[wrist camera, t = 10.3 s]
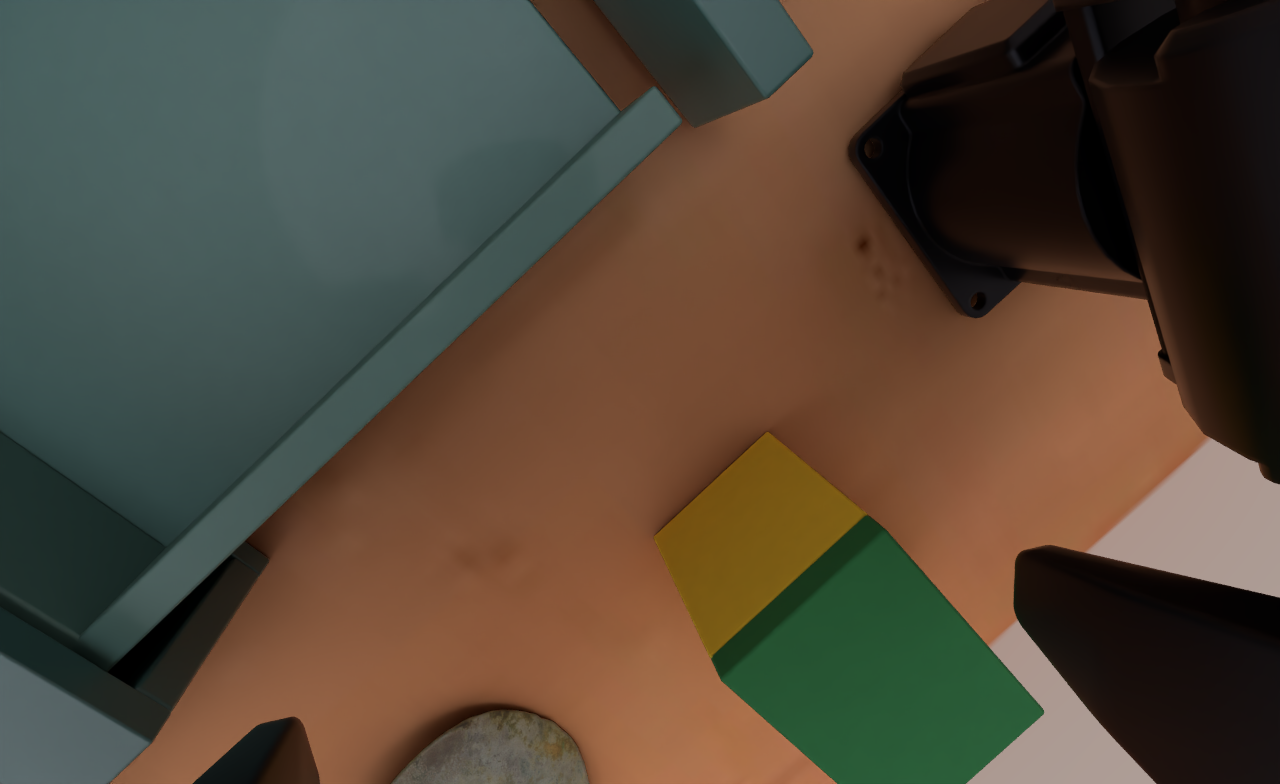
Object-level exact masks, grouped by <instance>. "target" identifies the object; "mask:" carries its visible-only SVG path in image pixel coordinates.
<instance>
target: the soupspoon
mask: <svg viewBox="0 0 1280 784" xmlns="http://www.w3.org/2000/svg"><path fill="white" fill-rule="evenodd" d="M391 784H589V780H588V775H587V772H586V768H585V764H584V761H583V759H582V757H581V754H580V752H579V750H578V747H577V745H576V744H575V742H574V741H573V740H572V738H571V737H570V736H569V735H568V734H567V733H566V732H565V731H563V730H562V729H560V728H559V727H558V726H557V724H556V723H554V722H552V721H551V720H547V719H541V718H540V717H539V716H538V715H536V714H534V713H532V714H531V713H527V712H525V711H522V712H521V711H518V710H506V709H503V710H494V711H489V712H485V713H483V714H481V715H477V716H472V717H471V718H468V719H466V720H463V721H462V722H461V723H459V724H457V725H456V726H454V727H453V728H452V729H449V730H448V731H446V732H444V733H443V735H441V736H439V737H437V738H436V739H435V740H434V741H433V742H431V743H430V744H429V745H428V746H427V747H426V748H424V749H423V750H422V751H421V752H420V753H419V754H418V755H417V756H416V757H415V758H414V759H413V760H412V761H411V762H410V763H409V764H408V765H407V766H406V767H405V768H404V769H403V770H402V771H401V772H400V773H399V774H398V775H397V776H396V778H395V779H394V780H393V781H392V782H391Z"/></svg>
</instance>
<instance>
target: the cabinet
mask: <svg viewBox="0 0 1280 784" xmlns="http://www.w3.org/2000/svg"><path fill="white" fill-rule="evenodd" d="M268 563H269V559H268V558H267V557H266V556H264V555H263V554H261V553H260V552H259V551H257V550H256V549H255V548H253V547H252V546H251V545H249V544H248V543H246V542H245V541H244V542H243V543H242V544H241V545H240V546H239V547H238V548H237V549H236V550H235V551H234V552H233V553H232V554H231V555H230V556H228V557H227V558H226V559H225V560H224V561H223V562H222V563H221V564H220V565H219V566H218V567H217V568H216V569H215V570H214V571H213V572H212V573H211V574H210V575H209V576H208V577H206V578H205V579H204V580H203V581H202V582H201V583H200V584H199V585H198V586H197V587H196V588H195V589H194V590H193V591H192V592H191V593H190V594H189V595H188V596H187V597H186V598H184V599H183V600H182V601H181V602H180V603H179V604H178V605H177V606H176V607H175V608H174V609H173V610H172V611H171V612H170V613H169V614H168V615H167V616H166V617H165V618H164V619H162V620H161V621H160V622H159V623H158V624H157V625H156V626H155V627H154V628H153V629H152V630H151V631H150V632H149V633H148V634H147V635H146V636H145V637H144V638H143V639H142V640H140V641H139V642H138V643H137V644H136V645H135V646H134V647H133V648H132V649H131V650H130V651H129V652H128V653H127V654H126V655H125V656H124V657H123V658H122V659H121V660H120V661H118V662H117V663H116V664H115V665H114V666H113V667H112V668H111V669H110V670H109V671H108V672H106V671H104V670H103V669H101V668H100V667H98V666H96V665H95V664H93V663H91V662H90V661H88V660H86V659H85V658H83V657H82V656H80V655H78V654H77V653H75V652H73V651H72V650H70V649H69V648H67V647H65V646H64V645H62V644H60V643H59V642H57V641H55V640H54V639H52V638H51V637H49V636H47V635H46V634H44V633H42V632H41V631H39V630H38V629H36V628H34V627H33V626H31V625H29V624H28V623H26V622H25V621H23V620H21V619H20V618H18V617H16V616H15V615H13V614H11V613H10V612H8V611H7V610H5V609H3V608H2V607H0V784H109V783H110V782H111V781H112V780H113V779H114V778H115V777H117V776H118V775H119V774H120V773H121V772H122V771H123V770H124V769H125V768H126V767H127V766H128V765H129V764H130V763H131V762H132V761H133V760H135V759H136V758H137V757H138V756H139V755H140V754H141V753H142V752H143V751H144V750H145V749H146V748H147V747H148V746H149V745H150V744H151V743H152V742H153V741H154V739H155V738H156V736H157V735H158V733H159V731H160V730H161V728H162V727H163V725H164V724H165V722H166V721H167V719H168V718H169V716H170V714H171V712H172V710H173V709H174V707H175V706H176V704H177V703H178V701H179V700H180V698H181V697H182V695H183V693H184V692H185V690H186V689H187V687H188V686H189V684H190V683H191V681H192V680H193V678H194V676H195V675H196V673H197V672H198V670H199V669H200V667H201V666H202V664H203V663H204V661H205V660H206V658H207V656H208V655H209V653H210V652H211V650H212V649H213V647H214V646H215V644H216V643H217V641H218V639H219V638H220V636H221V635H222V633H223V632H224V630H225V629H226V627H227V626H228V624H229V623H230V621H231V619H232V618H233V616H234V615H235V613H236V612H237V610H238V609H239V607H240V606H241V604H242V602H243V601H244V599H245V598H246V596H247V595H248V593H249V592H250V590H251V589H252V587H253V586H254V584H255V582H256V581H257V579H258V577H259V576H260V575H261V574H262V572H263V571H264V569H265V567H266V566H267V564H268Z"/></svg>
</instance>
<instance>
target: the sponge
mask: <svg viewBox="0 0 1280 784" xmlns="http://www.w3.org/2000/svg"><path fill="white" fill-rule="evenodd" d="M654 540H655V542H656V544H657V547H658V549H659V551H660V553H661V555H662V557H663V559H664V561H665V564H666V566H667V568H668V570H669V572H670V574H671V576H672V578H673V580H674V583H675V585H676V587H677V589H678V591H679V593H680V595H681V597H682V600H683V602H684V604H685V606H686V608H687V610H688V612H689V614H690V617H691V619H692V621H693V623H694V625H695V627H696V629H697V631H698V634H699V636H700V638H701V640H702V642H703V644H704V646H705V648H706V651H707V653H708V655H709V657H710V658H711V660H712V662H713V664H714V666H715V668H716V671H717V673H718V675H719V677H720V679H721V681H722V682H723V683H724V684H726V685H727V686H728V687H729V688H730V689H731V690H732V691H734V692H735V693H736V694H737V695H738V696H739V697H740V698H741V699H743V700H744V701H745V702H746V703H747V704H748V705H749V706H750V707H752V708H753V709H754V710H755V711H756V712H757V713H758V714H759V715H761V716H762V717H763V718H764V719H765V720H766V721H767V722H768V723H770V724H771V725H772V726H773V727H774V728H775V729H776V730H777V731H779V732H780V733H781V734H782V735H783V736H784V737H785V738H786V739H788V740H789V741H790V742H791V743H792V744H793V745H794V746H795V747H797V748H798V749H799V750H800V751H801V752H802V753H803V754H805V755H806V756H807V757H808V758H809V759H810V760H811V761H812V762H814V763H815V764H816V765H817V766H818V767H819V768H820V769H821V770H823V771H824V772H825V773H826V774H827V775H828V776H829V777H830V778H832V779H833V780H834V781H835V782H836V783H837V784H966V783H967V782H968V781H969V780H970V779H972V778H973V777H974V776H975V775H976V774H977V773H978V772H979V771H981V770H982V769H983V768H984V767H985V766H986V765H987V764H988V763H990V761H992V760H993V759H994V758H995V757H996V756H997V755H998V754H1000V753H1001V752H1002V751H1003V750H1004V749H1005V748H1006V747H1007V746H1009V745H1010V744H1011V743H1012V742H1013V741H1014V740H1015V739H1016V738H1017V737H1019V736H1020V735H1021V734H1022V733H1023V732H1024V731H1025V730H1026V729H1027V728H1029V727H1030V726H1031V725H1032V724H1033V723H1034V722H1035V721H1036V720H1038V719H1039V718H1040V717H1041V716H1042V715H1043V714H1044V710H1043V708H1042V707H1041V706H1040V705H1039V704H1038V703H1037V702H1036V700H1035V699H1034V698H1033V697H1032V696H1031V695H1030V694H1029V692H1028V691H1027V690H1026V689H1025V688H1024V687H1023V686H1022V684H1021V683H1020V682H1019V681H1018V680H1017V679H1016V678H1015V676H1014V675H1013V674H1012V673H1011V672H1010V671H1009V670H1008V668H1007V667H1006V666H1005V665H1004V664H1003V663H1002V662H1001V660H1000V659H998V657H997V656H996V655H995V654H994V653H993V651H992V650H991V649H990V648H989V647H988V646H987V644H986V643H985V642H984V641H983V640H982V639H981V638H980V636H979V635H978V634H977V633H976V632H975V631H974V630H973V628H972V627H971V626H970V625H969V624H968V623H967V622H966V620H965V619H964V618H963V617H962V616H961V615H960V614H959V612H958V611H957V610H956V609H955V608H954V607H953V606H952V604H951V603H950V602H949V601H948V600H947V599H946V598H945V596H944V595H943V594H942V593H941V592H940V591H939V590H938V588H937V587H936V586H935V585H934V584H933V583H932V582H931V580H930V579H929V578H928V577H927V576H926V575H925V574H924V572H923V571H922V570H921V569H920V568H919V567H918V566H917V564H916V563H915V562H914V561H913V560H912V559H911V558H910V556H909V555H908V554H907V553H906V552H905V551H904V550H903V548H902V547H901V546H900V545H899V544H898V543H897V542H896V540H895V539H894V538H893V537H892V536H891V535H890V534H889V532H888V531H887V530H886V529H885V528H883V527H882V526H881V525H880V524H879V523H877V522H876V521H875V520H874V519H873V518H871V517H870V516H868V514H867V513H866V512H864V511H863V510H862V509H861V508H860V507H858V506H857V505H856V504H855V503H854V502H852V501H851V500H850V499H849V498H848V497H846V496H845V495H844V494H843V493H842V492H840V491H839V490H838V489H837V488H836V487H834V486H833V485H832V484H831V483H830V482H828V481H827V480H826V479H825V478H824V477H822V476H821V475H820V474H819V473H817V472H816V471H815V470H814V469H813V468H811V467H810V466H809V465H808V464H807V463H805V462H804V461H803V460H802V459H801V458H799V457H798V456H797V455H796V454H795V453H793V452H792V451H791V450H790V449H789V448H787V447H786V446H785V445H784V444H783V443H781V442H780V441H779V440H778V439H776V438H775V437H774V436H773V435H772V434H770V433H769V432H766V433H765V434H764V435H763V436H762V437H761V438H759V439H758V440H757V441H756V442H755V443H754V444H753V445H752V446H751V447H750V448H749V449H748V450H747V451H745V452H744V453H743V454H742V455H741V456H740V457H739V458H738V459H737V460H736V461H735V462H734V463H733V464H731V465H730V466H729V467H728V468H727V469H726V470H725V471H724V472H723V473H722V474H721V475H720V476H719V477H717V478H716V479H715V480H714V481H713V482H712V483H711V484H710V485H709V486H708V487H707V488H706V489H705V490H703V491H702V492H701V493H700V494H699V495H698V496H697V497H696V498H695V499H694V500H693V501H692V502H691V503H689V504H688V505H687V506H686V507H685V508H684V509H683V510H682V511H681V512H680V513H679V514H678V515H677V516H675V517H674V518H673V519H672V520H671V521H670V522H669V523H668V524H667V525H666V526H665V527H664V528H663V529H661V530H660V531H659V532H658V533H657V534H656V535H655V536H654Z"/></svg>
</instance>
